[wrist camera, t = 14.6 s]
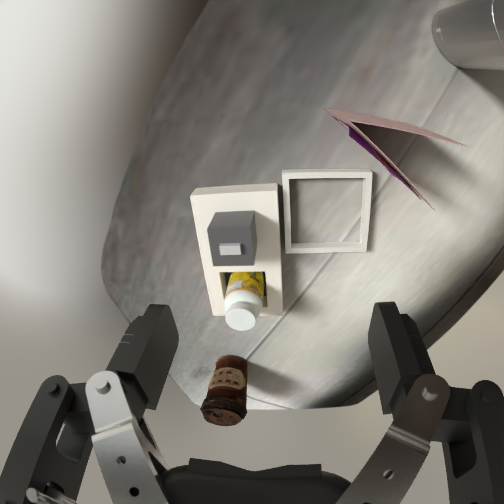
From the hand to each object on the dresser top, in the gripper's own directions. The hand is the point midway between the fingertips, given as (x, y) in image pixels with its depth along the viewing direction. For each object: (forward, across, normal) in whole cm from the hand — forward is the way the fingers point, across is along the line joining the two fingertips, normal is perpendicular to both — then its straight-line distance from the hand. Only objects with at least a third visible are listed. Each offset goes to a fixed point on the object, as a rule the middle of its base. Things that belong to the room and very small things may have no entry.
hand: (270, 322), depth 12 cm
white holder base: (+30, +6, +14) cm, 34 cm away
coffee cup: (+30, +11, +40) cm, 51 cm away
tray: (+30, -6, +8) cm, 32 cm away
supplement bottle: (+30, +6, +19) cm, 36 cm away
